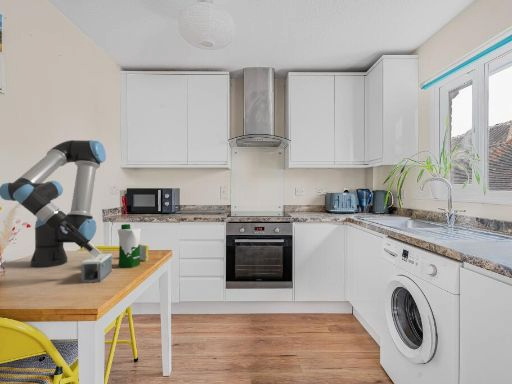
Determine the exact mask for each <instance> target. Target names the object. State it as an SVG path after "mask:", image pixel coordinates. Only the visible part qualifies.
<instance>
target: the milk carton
mask: <svg viewBox="0 0 512 384" xmlns="http://www.w3.org/2000/svg"><path fill="white" fill-rule="evenodd" d="M141 232H142V228H137V227H131V224H127V223H124V224H123V223H122V224H121V225H120V228H119V229H117V233H118V238H119V239H118V241H119V242H118V243H119V244H118V248H119V249H118V250H119V252H118V268H128V269H129V268H131V269H132V268H134V267H137V266H139V265H141V261H140V243H141Z"/></svg>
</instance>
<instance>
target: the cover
mask: <svg viewBox="0 0 512 384" xmlns="http://www.w3.org/2000/svg"><path fill="white" fill-rule="evenodd" d="M110 256H112V257H113V253H100V254H99V255H98V256H97V257H96V258H95V257H94V256H93V255H91V256H90V257H88V258H87V259H85V260H83V261H82V262H81V265H82V264H97V265H98V264H101V263H102V262H104V261H105V260H106V259H108V258H109V257H110Z"/></svg>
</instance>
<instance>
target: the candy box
mask: <svg viewBox="0 0 512 384" xmlns="http://www.w3.org/2000/svg"><path fill="white" fill-rule="evenodd" d="M149 249H150V245H148V244H140V262H144V263H146V262H149Z"/></svg>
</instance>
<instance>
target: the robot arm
mask: <svg viewBox="0 0 512 384" xmlns="http://www.w3.org/2000/svg"><path fill="white" fill-rule="evenodd" d="M106 153H107V152H106V149H105V147H104V145H103V143H101V142H100V141H99V140H93V139H91V140H82V139H81V140H79V139H77V140H73V139H72V140H71V139H70V140H65V141H63V142H61V143H58V144H56V145H55V146H54V147H52V148H51V149H49V150H48V151H47V152H46V155H45V156H43V158H42V159H40V160H39V161H38V162H37V163H36V164H34V165H33V166H32V167H30V169H28V170H27V171H26V172H25V173H24V174H22V175H21V176H20V177H18V178H17V179H16V180H15V181H13V182H5V183H2V184H1V185H0V197H1V199H2V200H4V201H11V202H15V201H16V202H18V204H19V205H20V206H22V207H23V208H25V209H26V210H28V211H29V212H30V213H31V214H32V215H33V216H35V217H36V220H35V225H34V229H35V230H34V233H35V235H34V244H35V247H34V248H35V249H34V252H33V254H32V256H31V260H30V267H33V268H47V267H55V266H59V265H63V264H66V263H67V262H68V256H67V254H66V250H65V246H64V243H67V244H68V243H69V244H70V243H75V244H76V245H78V247H80V249H81V250H82V249H84V250H85V251H87V252H88V253H89V254H90V255H91V256H94V257H95V258H96V257H97V256H98V255H99V254H102V252H101V251H100V250H99V249H98V248H97V247H95V246H94V245H93V244H92V243H91V242H90V241H92V239H93V238H94V237H95V235H96V231H97V222H96V220H94V219H93V218H94V216H93V215H92V214H91V209H92V201H93V193H94V187H95V181H96V174H97V169H99V168H100V166H101V164H103V163H105V161H106V157H107V155H106ZM68 163H74V164H75V166H76V167H77V168H76V175H75V182H74V189H73V193H72V200H71V207H70V211H69V212H68V213H67V214H65V212H63V211H62V210H60V208H59V207H58V206H56V205H55V203H53V202H52V201H53V200H56V199H57V198H59V197H60V196H61V195H62V194H63V191H64V189H63V185H62V184H61V183H60V182H59V181H56V180H51V181H46V180H47V179H48V178H49V177H50V176H52V174H54V172H55V171H56V170H57V169H58V168H60V167H63V166H65V165H66V164H68ZM45 181H46V182H45Z"/></svg>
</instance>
